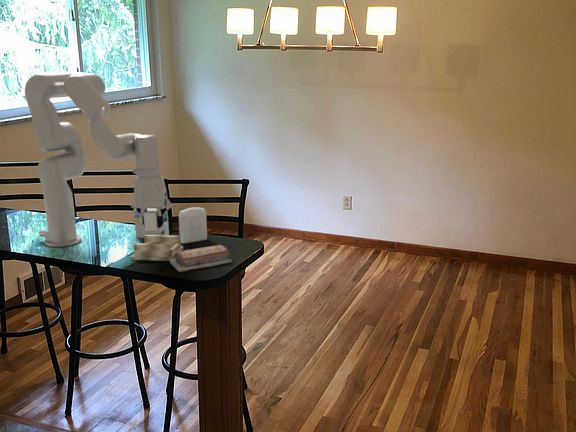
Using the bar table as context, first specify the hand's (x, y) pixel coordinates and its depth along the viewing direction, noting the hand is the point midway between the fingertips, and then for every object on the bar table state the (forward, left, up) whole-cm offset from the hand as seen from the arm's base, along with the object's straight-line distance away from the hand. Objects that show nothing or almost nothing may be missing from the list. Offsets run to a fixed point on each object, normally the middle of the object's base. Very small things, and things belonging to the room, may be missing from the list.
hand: (153, 226), depth 200 cm
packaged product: (+18, -7, -10) cm, 22 cm away
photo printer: (+9, +16, -10) cm, 21 cm away
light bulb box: (-8, +20, -10) cm, 24 cm away
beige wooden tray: (+1, 0, -10) cm, 10 cm away
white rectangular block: (0, 0, -1) cm, 1 cm away
